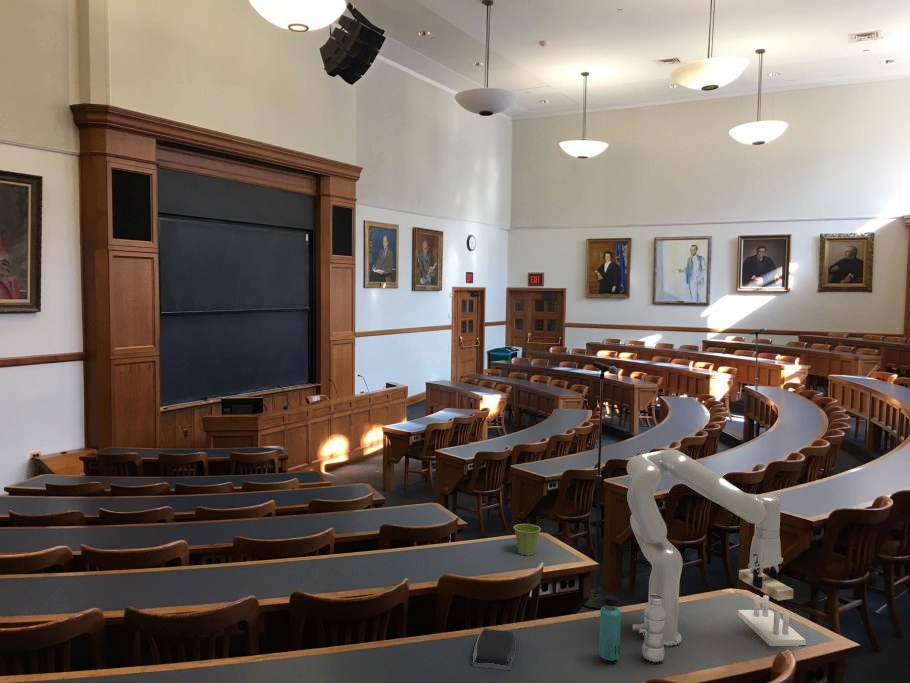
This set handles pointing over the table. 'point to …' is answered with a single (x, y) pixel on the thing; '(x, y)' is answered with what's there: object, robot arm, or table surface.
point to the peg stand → (771, 625)
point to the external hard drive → (494, 647)
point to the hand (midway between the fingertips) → (765, 584)
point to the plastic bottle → (654, 629)
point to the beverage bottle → (609, 629)
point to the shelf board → (768, 585)
